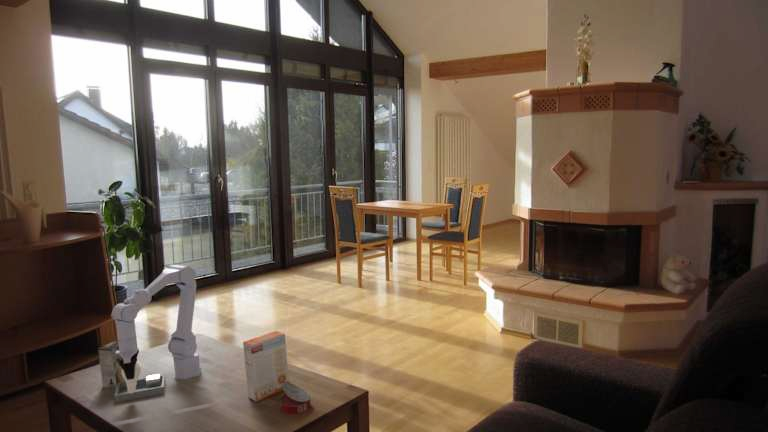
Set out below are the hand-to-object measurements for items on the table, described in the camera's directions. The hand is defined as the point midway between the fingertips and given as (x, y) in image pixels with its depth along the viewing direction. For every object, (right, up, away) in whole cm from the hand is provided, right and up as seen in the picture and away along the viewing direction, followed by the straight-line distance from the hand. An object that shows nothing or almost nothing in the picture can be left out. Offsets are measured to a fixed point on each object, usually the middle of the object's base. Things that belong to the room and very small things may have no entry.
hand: (131, 375), depth 182 cm
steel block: (+4, -8, +10) cm, 13 cm away
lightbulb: (0, -7, 0) cm, 7 cm away
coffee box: (-13, -9, +17) cm, 23 cm away
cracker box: (+47, -8, +5) cm, 48 cm away
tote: (0, -9, +8) cm, 12 cm away
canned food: (+58, -9, -6) cm, 59 cm away
